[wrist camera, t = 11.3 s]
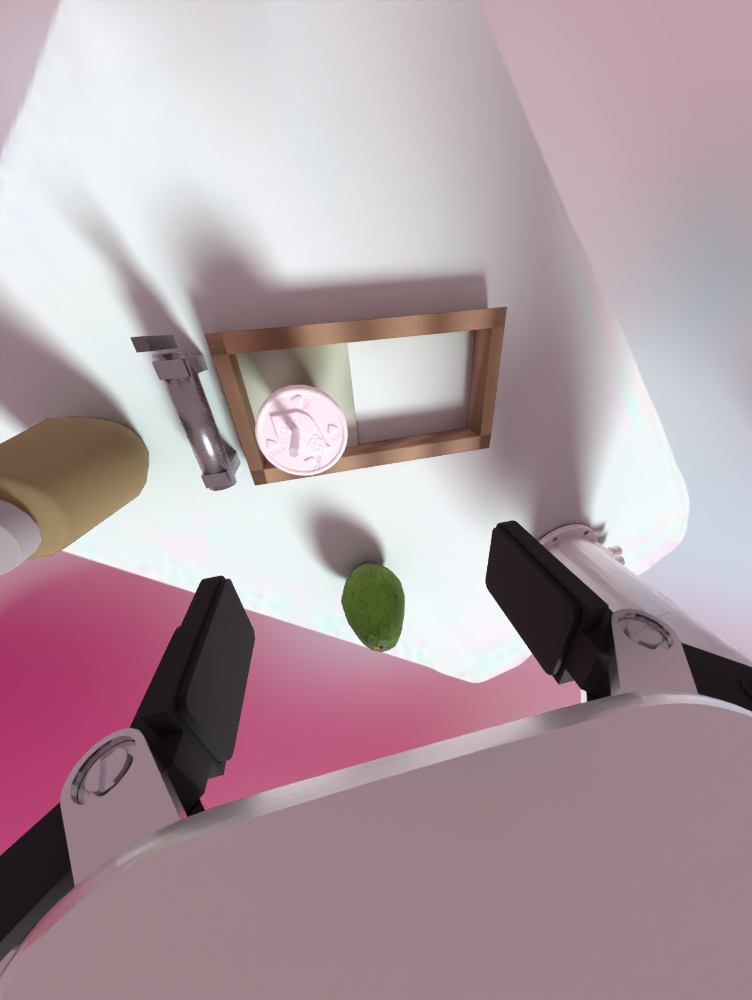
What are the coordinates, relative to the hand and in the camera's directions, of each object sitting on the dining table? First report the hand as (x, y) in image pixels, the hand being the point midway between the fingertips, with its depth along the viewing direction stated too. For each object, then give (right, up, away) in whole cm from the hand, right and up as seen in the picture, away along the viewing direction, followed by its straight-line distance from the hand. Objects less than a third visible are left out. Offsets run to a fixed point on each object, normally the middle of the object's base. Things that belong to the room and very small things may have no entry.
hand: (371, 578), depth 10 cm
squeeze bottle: (-24, +8, +17) cm, 31 cm away
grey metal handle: (-15, +11, +17) cm, 25 cm away
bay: (-1, +13, +19) cm, 24 cm away
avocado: (-1, -7, +31) cm, 32 cm away
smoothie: (-7, +12, +18) cm, 23 cm away
